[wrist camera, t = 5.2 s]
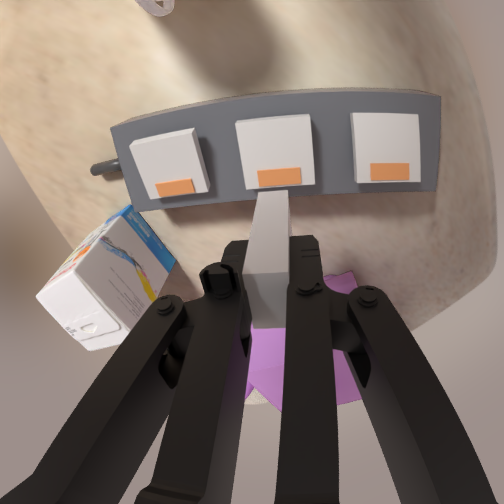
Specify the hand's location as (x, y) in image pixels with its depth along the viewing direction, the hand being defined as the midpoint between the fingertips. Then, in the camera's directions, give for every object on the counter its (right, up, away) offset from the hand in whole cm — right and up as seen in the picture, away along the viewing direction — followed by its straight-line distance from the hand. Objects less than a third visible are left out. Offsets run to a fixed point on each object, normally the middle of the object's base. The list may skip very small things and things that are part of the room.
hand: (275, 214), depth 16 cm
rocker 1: (-7, +5, +6) cm, 11 cm away
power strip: (-2, +8, +9) cm, 12 cm away
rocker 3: (+8, +5, +3) cm, 11 cm away
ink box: (-15, -1, +17) cm, 23 cm away
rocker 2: (0, +5, +5) cm, 7 cm away
